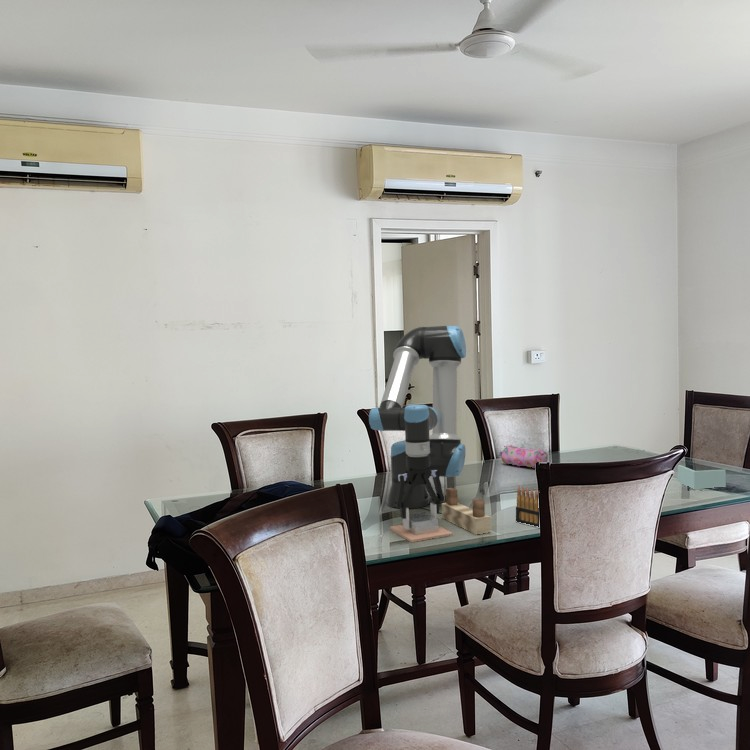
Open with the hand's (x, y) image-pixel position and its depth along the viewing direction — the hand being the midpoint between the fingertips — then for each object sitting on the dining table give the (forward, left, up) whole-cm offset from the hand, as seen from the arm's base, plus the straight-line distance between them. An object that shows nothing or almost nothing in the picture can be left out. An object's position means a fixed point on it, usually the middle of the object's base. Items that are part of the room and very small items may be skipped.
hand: (420, 526), depth 214 cm
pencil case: (-67, +85, -2) cm, 109 cm away
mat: (0, 0, -2) cm, 2 cm away
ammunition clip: (+10, +34, -2) cm, 36 cm away
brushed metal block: (0, 0, -1) cm, 1 cm away
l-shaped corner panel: (0, +118, -2) cm, 118 cm away
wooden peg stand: (0, +16, -2) cm, 16 cm away
